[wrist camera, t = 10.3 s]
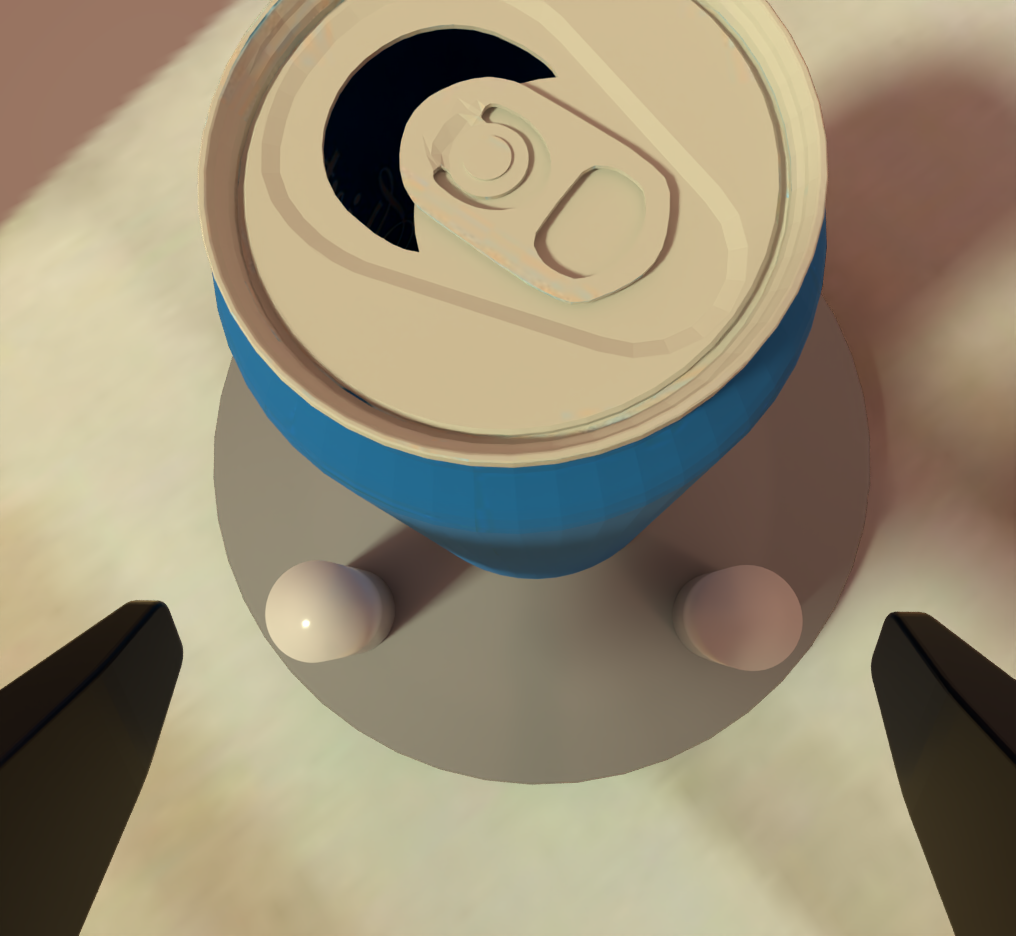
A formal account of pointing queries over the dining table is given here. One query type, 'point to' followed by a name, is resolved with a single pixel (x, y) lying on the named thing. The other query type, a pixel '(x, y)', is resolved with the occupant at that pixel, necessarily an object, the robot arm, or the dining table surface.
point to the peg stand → (557, 595)
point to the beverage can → (516, 253)
